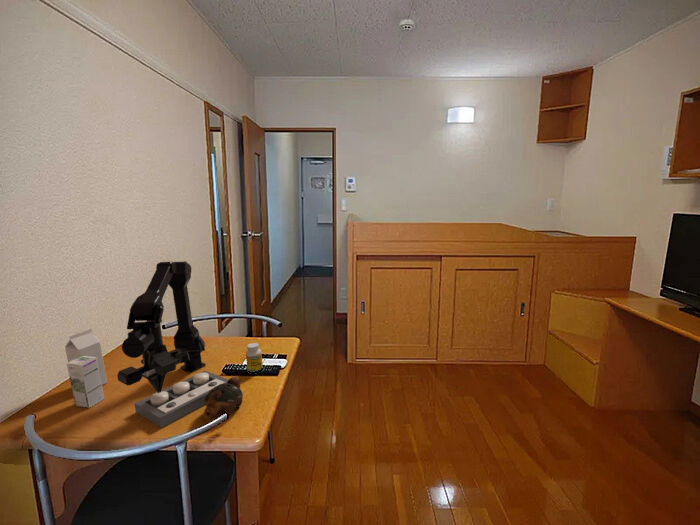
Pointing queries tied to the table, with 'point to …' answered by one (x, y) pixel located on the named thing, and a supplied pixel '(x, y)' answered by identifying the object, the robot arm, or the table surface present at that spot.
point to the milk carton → (86, 349)
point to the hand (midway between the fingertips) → (158, 392)
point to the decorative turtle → (224, 397)
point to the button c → (201, 379)
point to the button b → (181, 388)
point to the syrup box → (85, 381)
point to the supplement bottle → (253, 357)
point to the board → (178, 402)
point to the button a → (159, 398)
